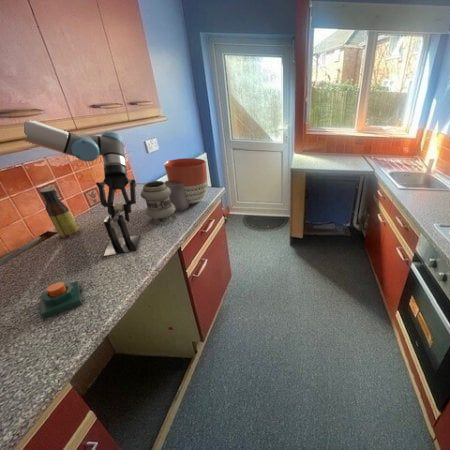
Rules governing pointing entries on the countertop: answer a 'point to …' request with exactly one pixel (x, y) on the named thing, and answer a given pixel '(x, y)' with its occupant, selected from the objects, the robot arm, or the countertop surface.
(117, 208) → the lever
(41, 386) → the countertop surface
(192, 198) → the planter
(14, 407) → the countertop surface
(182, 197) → the pillar candle
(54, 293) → the button
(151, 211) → the apothecary jar
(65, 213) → the sauce bottle
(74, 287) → the button housing
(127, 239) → the bracket
